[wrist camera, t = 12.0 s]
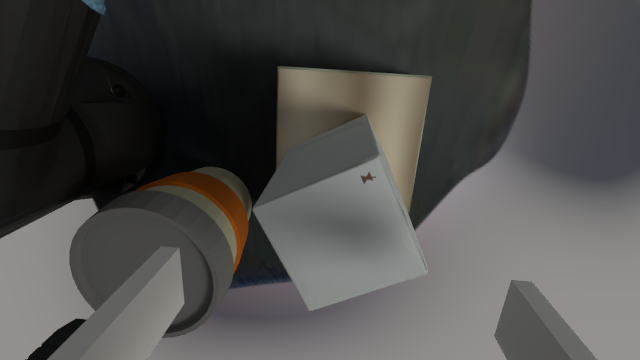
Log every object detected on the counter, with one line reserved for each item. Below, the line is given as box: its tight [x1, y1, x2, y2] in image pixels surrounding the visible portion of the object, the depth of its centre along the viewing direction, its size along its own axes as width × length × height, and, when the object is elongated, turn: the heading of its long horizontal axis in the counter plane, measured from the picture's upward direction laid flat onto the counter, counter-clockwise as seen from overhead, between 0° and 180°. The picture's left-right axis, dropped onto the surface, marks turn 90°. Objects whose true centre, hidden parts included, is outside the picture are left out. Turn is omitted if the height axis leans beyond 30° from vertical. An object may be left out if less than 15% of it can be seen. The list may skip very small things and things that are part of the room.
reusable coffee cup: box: [70, 167, 252, 338], centre depth 33 cm, size 12×12×15 cm
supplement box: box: [252, 115, 428, 311], centre depth 23 cm, size 7×7×13 cm
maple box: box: [276, 66, 432, 215], centre depth 33 cm, size 12×16×8 cm
